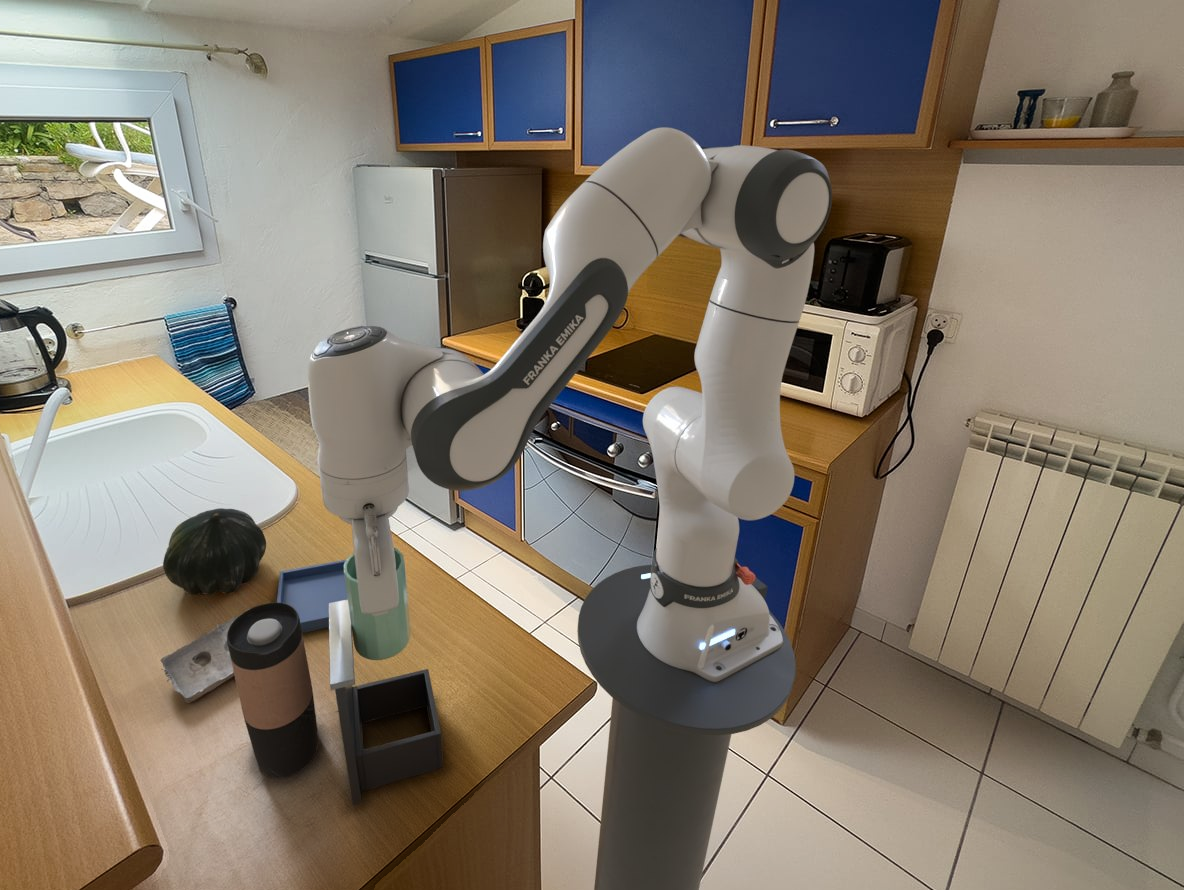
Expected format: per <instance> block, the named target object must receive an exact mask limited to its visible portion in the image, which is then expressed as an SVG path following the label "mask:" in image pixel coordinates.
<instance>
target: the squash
mask: <svg viewBox="0 0 1184 890" xmlns="http://www.w3.org/2000/svg"><path fill="white" fill-rule="evenodd" d="M266 550H267V540H266V537H265V534H264V532H263V530H262V528H261V527H260V526H259V525H258V524H257V523H256V522H255V521H254V518H252V516H251V515H250V514H249V513H247V512H245V511H243V510H239V509H235V508H224V507H223V508H222V507H221V508H214V509H210V510H209V509H208V510H205V511H203V512H200V513H198V514H196V515H194V516H191V517H189V518H187V519H186V520H183V521H182V522H181V523H179V524H178V525H177V526H176V527H175V529H174V530H173V531H172V533H171V535H170V537H169V541H168V547H167V548H166V551H165V554H164V557H163V561H162V568H163V571H164V574H165V576H166V578H167V579H168V580H169V581H170V583H172V584H173V585H175V586H177V587H179V588H181V589H183V591H184V592H185V593H186V594H189V595H191V596H197V595H201V594H204V595H208V596H210V595H214V594H215V593H217V592H218V591H219V592H221V593H223V594H228V595H229V594H234V593H235V592H237V590H238V589H239V588H240V587H241V585H244V584H248V583H249V582H251V581H252V580H253V579H254V578H255V576H256V575H257V574H258V571H259V568H260V562H261V561H262V559H263V557H264V556H265V553H266Z"/></svg>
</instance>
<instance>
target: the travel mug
mask: <svg viewBox="0 0 1184 890" xmlns="http://www.w3.org/2000/svg"><path fill="white" fill-rule="evenodd" d="M238 616H239V617H237V618H236V619H235V620H234V621H233V623H232V624H231V626H230V627H229V630H228V632H227V644H228V649H229V653H230V657H231V662H232V667H233V671H234V676H233V677H234V680H235V685H236V688H237V693H238V698H239V702H240V707H241V712H242V716H243V719H244V723H245V726H246V730H247V733H248V737H249V740H250V744H251V747H252V751H253V754H254V758H255V760H256V763H257V767H258V769H259V770H260V772H261V773H262V774H263V775H264V776H265V777H266V776H267V777H268V778H272V779H285V778H289V777H292V776H294V775H296V774H298V773H300V772H301V771H303V770H305V768H306V767H308V765H309V764H310V763H311V762H312V761H313V759H314V758H315V757H316V755H317V751H318V748H319V730H318V722H317V715H316V706H315V698H314V697H315V696H314V691H313V690H314V689H313V685H312V684H313V683H312V678H311V673H310V667H309V663H308V662H309V661H308V656H307V652H306V651H307V650H306V646H305V640H304V636H303V633H302V629H301V624H300V619H299V615H298V613H297V611H296V610H295V609H294V608H293V607H292V606H290V605H288V604H285V603H279V602H277V601H274V602H266V603H261V604H259V605H256V606H253V607H250V608H248V609H247V610H245V611H244V612H242V613H241V614H239V615H238Z"/></svg>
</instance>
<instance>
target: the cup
mask: <svg viewBox="0 0 1184 890" xmlns="http://www.w3.org/2000/svg"><path fill="white" fill-rule="evenodd" d="M394 554H395V562H396V572H397V581H398V591H399V604H398V606H397V607H396V608H395V609H392V610H389V611H388V613H387V614H385V615H380V616H373V615H372V614H364V613H363V612H362V610H361V607H360V600H359V591H358V583H357V574H356V566H355V557H354V552H353V553H352V554H351V555H350V556H348V557H347V558H346V559H347V560H346V559H345V560H346V562H345V564H344V576H345V583H346V591H347V598H348V605H349V612H350V619H351V626H352V640H353V647H354V649H355V651H356V653H357V654H358V655H359V656H360V657H362V658H364V659H367V660H369V661H370V660H371V661H384V660H388V659H391V658H393V657H395V656H397V655H398V654H400V653H401V652H402V651H404V649H405V648H407V646H408V644H409V642H410V640H411V633H412V631H411V620H410V609H409V598H408V587H407V576H406V565H405V558H404V554H403V553H402V552H401V551H400V550H399V549H398V548H397V547H394Z"/></svg>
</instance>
